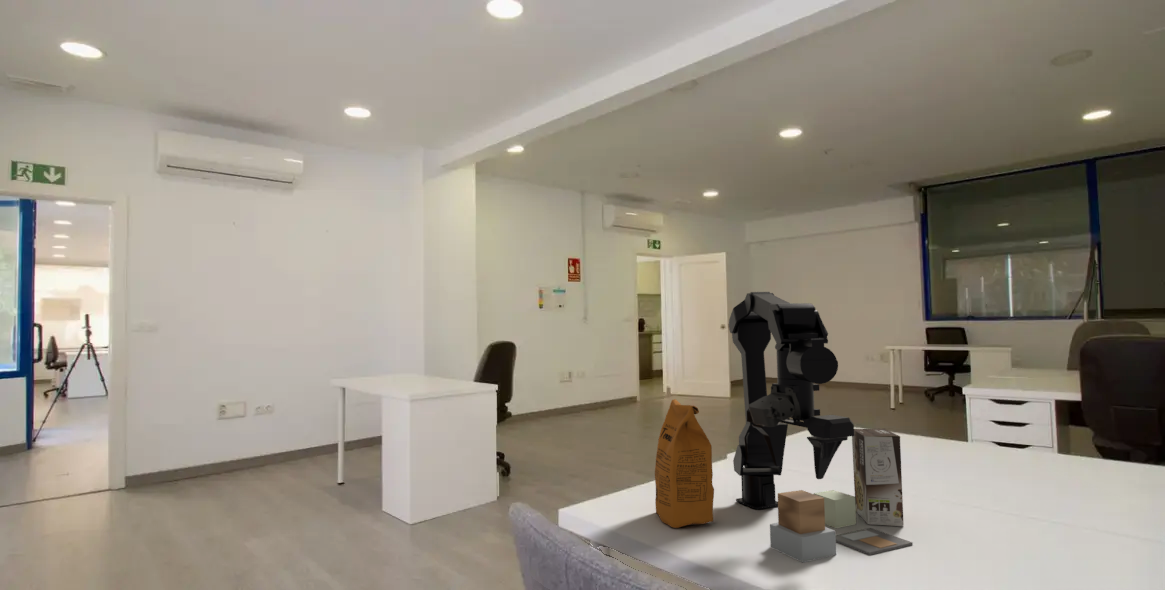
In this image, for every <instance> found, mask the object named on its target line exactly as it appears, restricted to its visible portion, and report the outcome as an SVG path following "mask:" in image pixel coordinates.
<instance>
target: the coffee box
mask: <svg viewBox="0 0 1165 590" xmlns="http://www.w3.org/2000/svg"><path fill="white" fill-rule="evenodd" d="M851 445H852V446H851V447H852V463H853V464H852V466H853V467H852V468H853V484H854V485H853V486H854V488H853V489H854V497H855V508H856V514H858V515H859V516H860V518H862V519H863V521H865V523H866V524H867V525H873V526H888V527H889V526H890V527H891V526H892V527H904V504H903V501H904V499H903V483H902V482H903V481H902V480H903V479H902V478H903V477H902V450H901V436H900V435H899V434H896V433H894V432H892V431H890V430H888V429H886V428H854V436H851Z"/></svg>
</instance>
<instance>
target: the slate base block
mask: <svg viewBox="0 0 1165 590" xmlns="http://www.w3.org/2000/svg"><path fill="white" fill-rule="evenodd" d="M769 532H770V533H769V537H770V548H771V549H773V550H776V551H778V552H780V553H782V554H783V555H786V556H788V557H790V558H792V559H794V560H797V561H798V562H800V563H807V562H811V561H816V560H819V559H824V558H828V557H833V556H837V544H836V543H837V542H836V535H837V534H836V530H835V529H832V528H830V527H829V528H828V527H827V526H825V530H822V531H816V532H810V533H805V534H798V533H796V532H794V531H792V530H790V529H788V528H785V527H783V526H781V525H779V524H778V522H774V523H769Z"/></svg>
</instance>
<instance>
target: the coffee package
mask: <svg viewBox="0 0 1165 590" xmlns="http://www.w3.org/2000/svg"><path fill="white" fill-rule="evenodd" d="M699 413H700V410H699V408H698V407H697V406H695V405H691V404H690V405H689V404H681V403H680V402H679V401H678V400H677V399H676V398H675V399H672V400H671V402H670V404H669V407H668V410H667V413H666V414H665V419H664V421H663V424H662V426H661V429H660V432H659V437H658V442H657V449H656V454H655V466H654V482H655V513H656V514H657V515H658V517H659V518H660V519H659V520H661V522H662V523H663V524H666V525H668V526H670V527H671V528H673V529H674V528H675V529H679V528H681V527H685V526H690V525H704V524H705V525H706V524H707V523H712V522H713V521H714V497H715V488H714V485H713V475H714V473H713V459H712V458H713V454H712V453H713V452H712V451H713V447H712V444H711V442H710V439H709V438H708V436H707V434H706V433H705V431H704V429H703V428H702V426H701V425H700V423H699V422H698V421H699V420H698V419H697V417H696V415H698V414H699Z"/></svg>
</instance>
